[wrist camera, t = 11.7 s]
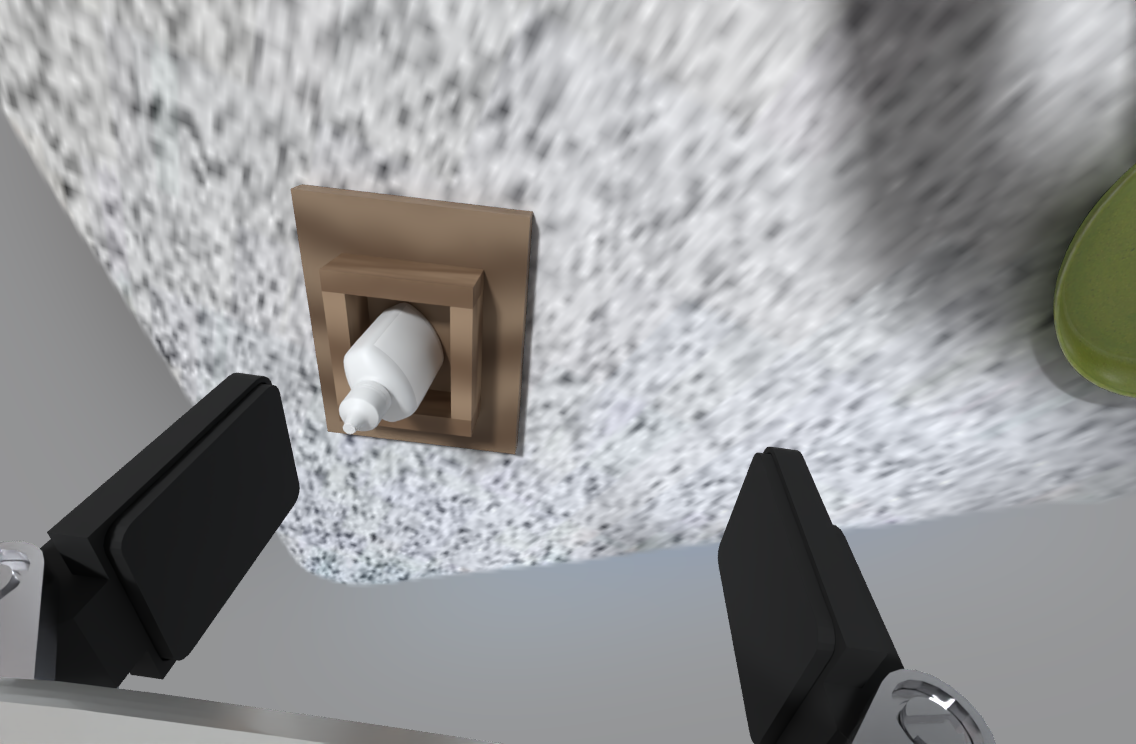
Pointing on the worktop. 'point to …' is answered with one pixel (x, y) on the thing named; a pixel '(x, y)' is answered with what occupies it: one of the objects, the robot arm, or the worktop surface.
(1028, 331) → the worktop surface
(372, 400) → the eye dropper bottle
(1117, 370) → the saucer
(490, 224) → the bottle stand
